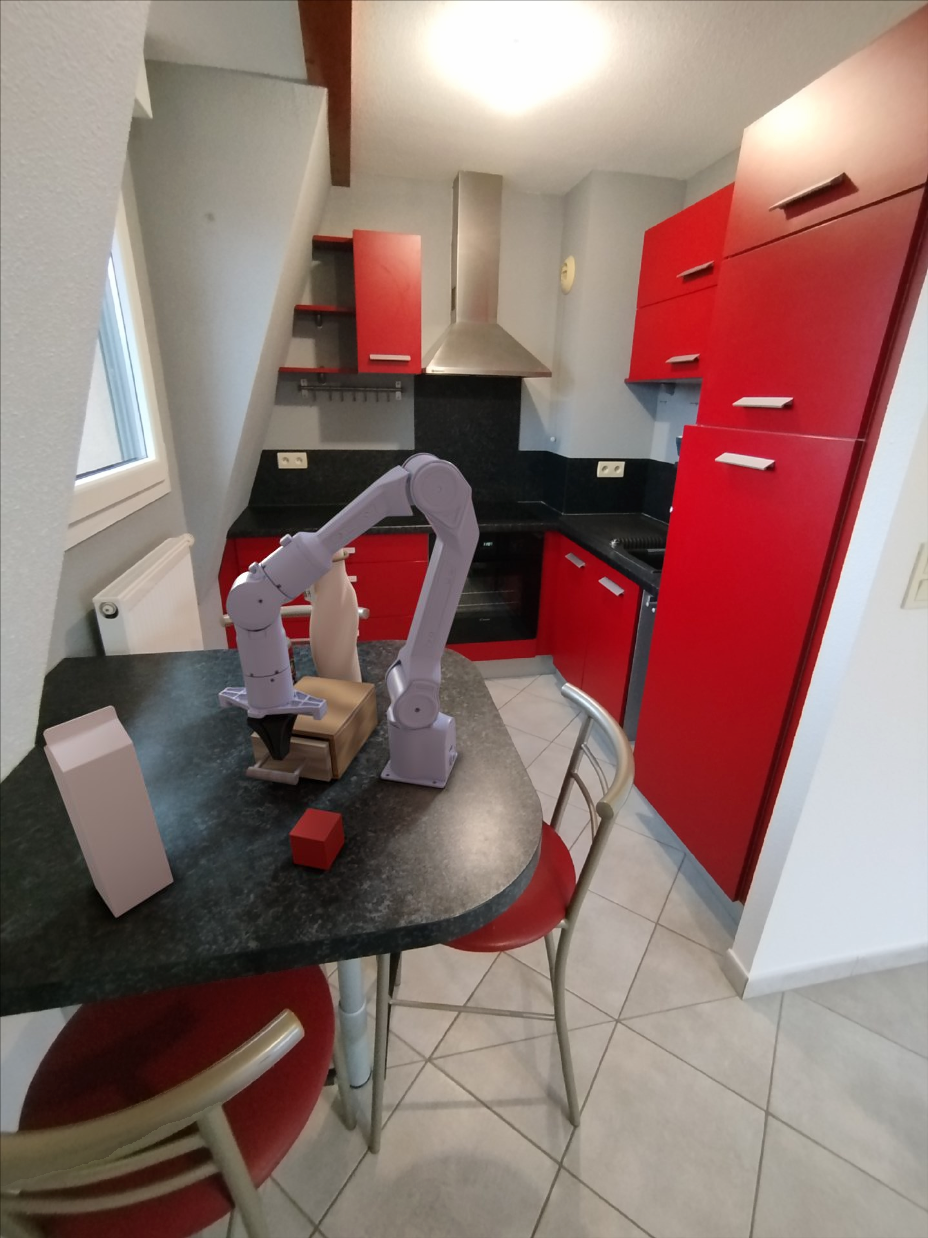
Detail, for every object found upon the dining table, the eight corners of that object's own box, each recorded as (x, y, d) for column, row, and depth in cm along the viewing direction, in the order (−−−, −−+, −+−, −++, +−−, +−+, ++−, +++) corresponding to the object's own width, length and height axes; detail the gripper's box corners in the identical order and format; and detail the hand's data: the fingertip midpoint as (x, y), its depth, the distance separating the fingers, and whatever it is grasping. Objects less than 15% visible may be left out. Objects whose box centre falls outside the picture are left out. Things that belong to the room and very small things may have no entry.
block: (344, 842, 65) (341, 813, 63) (328, 870, 61) (323, 841, 59) (312, 835, 66) (308, 807, 64) (293, 863, 62) (288, 834, 60)
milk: (174, 882, 60) (126, 715, 51) (115, 920, 55) (52, 744, 47) (151, 855, 63) (103, 694, 55) (94, 888, 59) (32, 719, 51)
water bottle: (338, 703, 95) (320, 551, 84) (302, 690, 99) (281, 544, 88) (374, 678, 103) (363, 537, 92) (339, 668, 107) (324, 532, 97)
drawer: (311, 805, 70) (306, 769, 67) (235, 792, 72) (228, 757, 70) (367, 727, 86) (364, 696, 84) (304, 719, 89) (299, 688, 86)
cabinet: (339, 779, 76) (333, 734, 73) (260, 767, 78) (252, 723, 76) (378, 723, 89) (374, 683, 86) (309, 714, 92) (304, 675, 89)
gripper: (195, 675, 65) (215, 766, 70) (302, 688, 62) (315, 783, 67) (231, 650, 71) (247, 736, 76) (330, 661, 68) (340, 749, 73)
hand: (281, 755), depth 72 cm, fingers closed
